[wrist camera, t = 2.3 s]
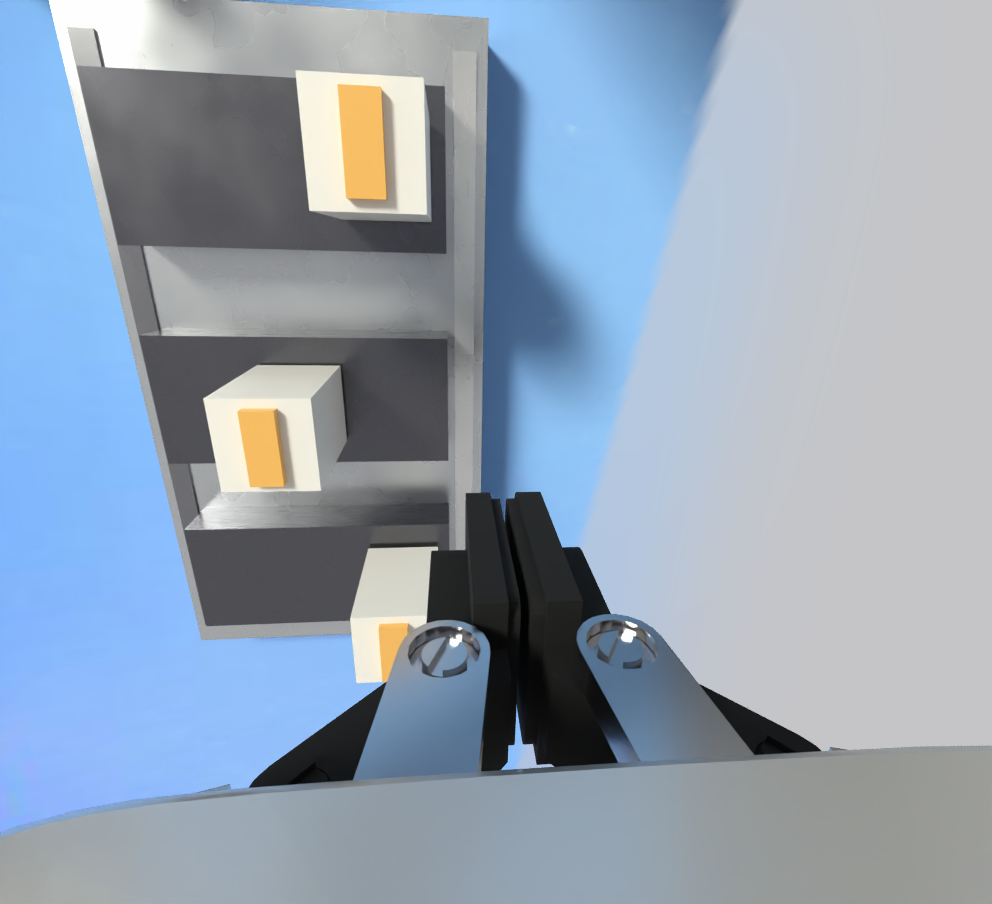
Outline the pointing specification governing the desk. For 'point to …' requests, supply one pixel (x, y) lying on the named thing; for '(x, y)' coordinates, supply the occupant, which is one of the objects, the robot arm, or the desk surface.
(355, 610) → the handle
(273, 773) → the robot arm
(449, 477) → the panel
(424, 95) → the handle
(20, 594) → the desk surface
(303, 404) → the handle mid
